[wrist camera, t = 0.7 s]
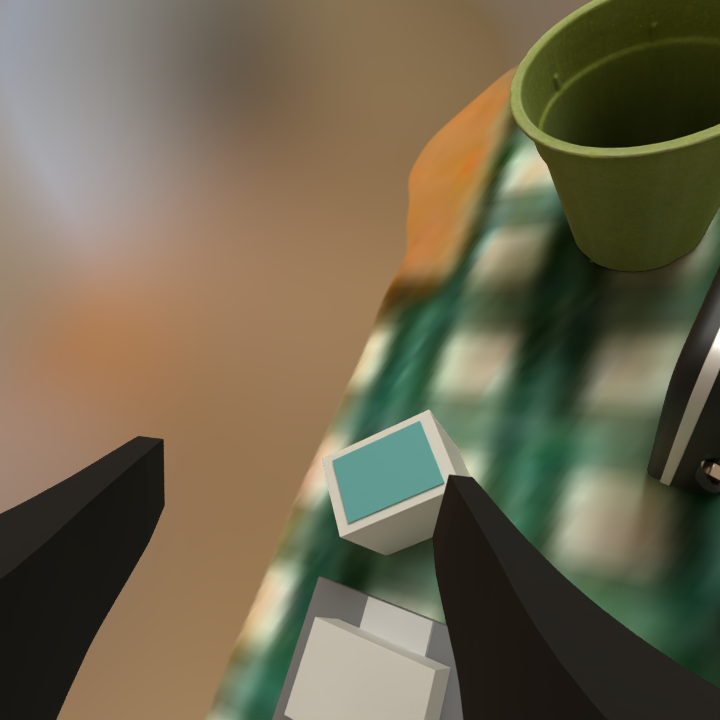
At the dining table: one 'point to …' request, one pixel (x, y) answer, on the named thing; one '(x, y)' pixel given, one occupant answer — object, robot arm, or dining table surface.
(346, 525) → the module
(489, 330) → the dining table surface
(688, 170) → the plant pot
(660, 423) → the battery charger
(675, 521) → the dining table surface
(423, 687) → the board
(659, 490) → the dining table surface
